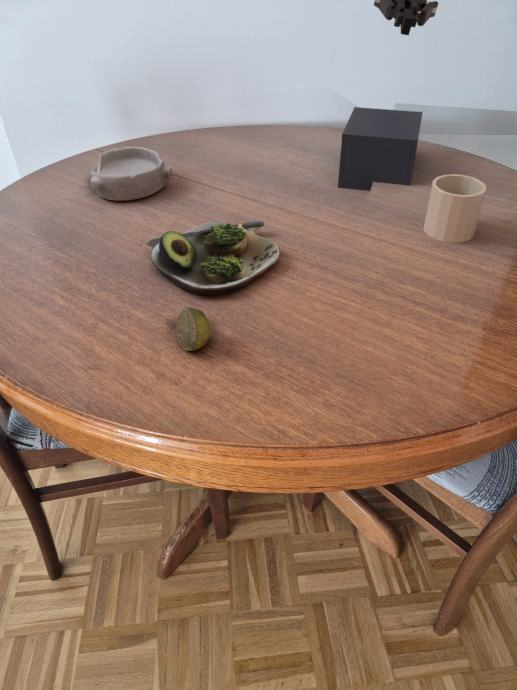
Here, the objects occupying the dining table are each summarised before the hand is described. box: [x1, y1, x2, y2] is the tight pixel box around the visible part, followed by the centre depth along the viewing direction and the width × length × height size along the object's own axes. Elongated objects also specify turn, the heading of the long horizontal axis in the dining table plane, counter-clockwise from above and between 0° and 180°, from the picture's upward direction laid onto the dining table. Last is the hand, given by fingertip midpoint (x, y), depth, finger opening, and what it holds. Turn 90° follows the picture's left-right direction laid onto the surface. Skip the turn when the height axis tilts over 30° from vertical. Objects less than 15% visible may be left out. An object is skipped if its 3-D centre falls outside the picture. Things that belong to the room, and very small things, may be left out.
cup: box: [423, 173, 487, 244], centre depth 81 cm, size 7×7×9 cm
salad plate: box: [145, 220, 281, 297], centre depth 80 cm, size 19×18×5 cm
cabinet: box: [337, 106, 423, 191], centre depth 99 cm, size 15×13×10 cm
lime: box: [175, 307, 212, 352], centre depth 64 cm, size 4×5×5 cm
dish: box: [89, 146, 173, 202], centre depth 99 cm, size 14×14×5 cm
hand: (406, 26), depth 99 cm, fingers closed
